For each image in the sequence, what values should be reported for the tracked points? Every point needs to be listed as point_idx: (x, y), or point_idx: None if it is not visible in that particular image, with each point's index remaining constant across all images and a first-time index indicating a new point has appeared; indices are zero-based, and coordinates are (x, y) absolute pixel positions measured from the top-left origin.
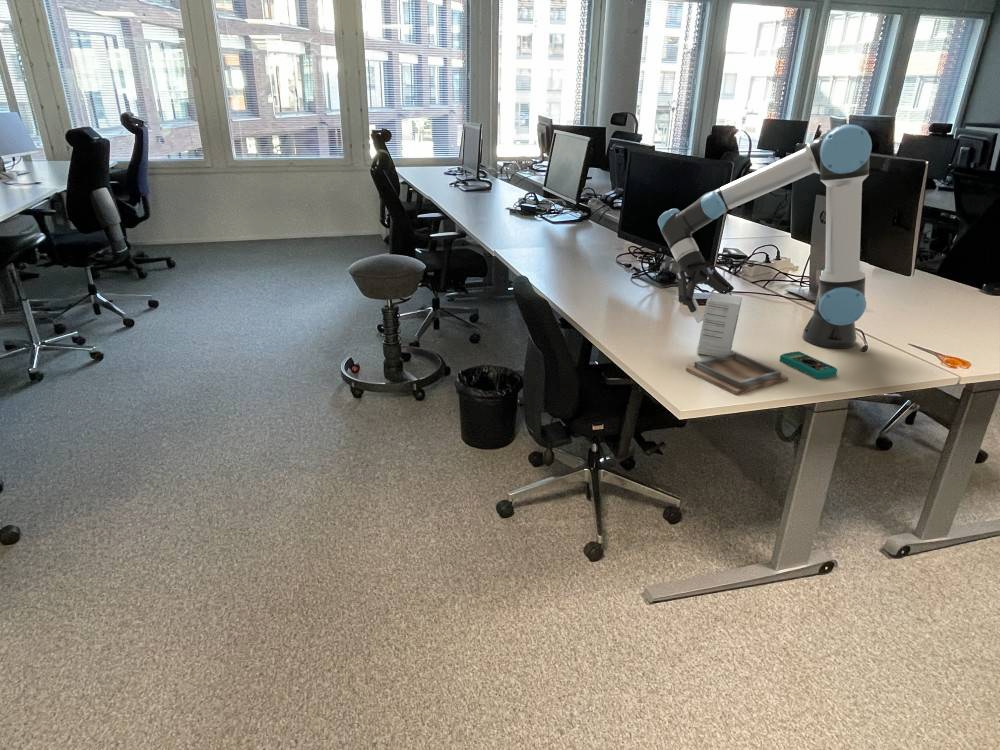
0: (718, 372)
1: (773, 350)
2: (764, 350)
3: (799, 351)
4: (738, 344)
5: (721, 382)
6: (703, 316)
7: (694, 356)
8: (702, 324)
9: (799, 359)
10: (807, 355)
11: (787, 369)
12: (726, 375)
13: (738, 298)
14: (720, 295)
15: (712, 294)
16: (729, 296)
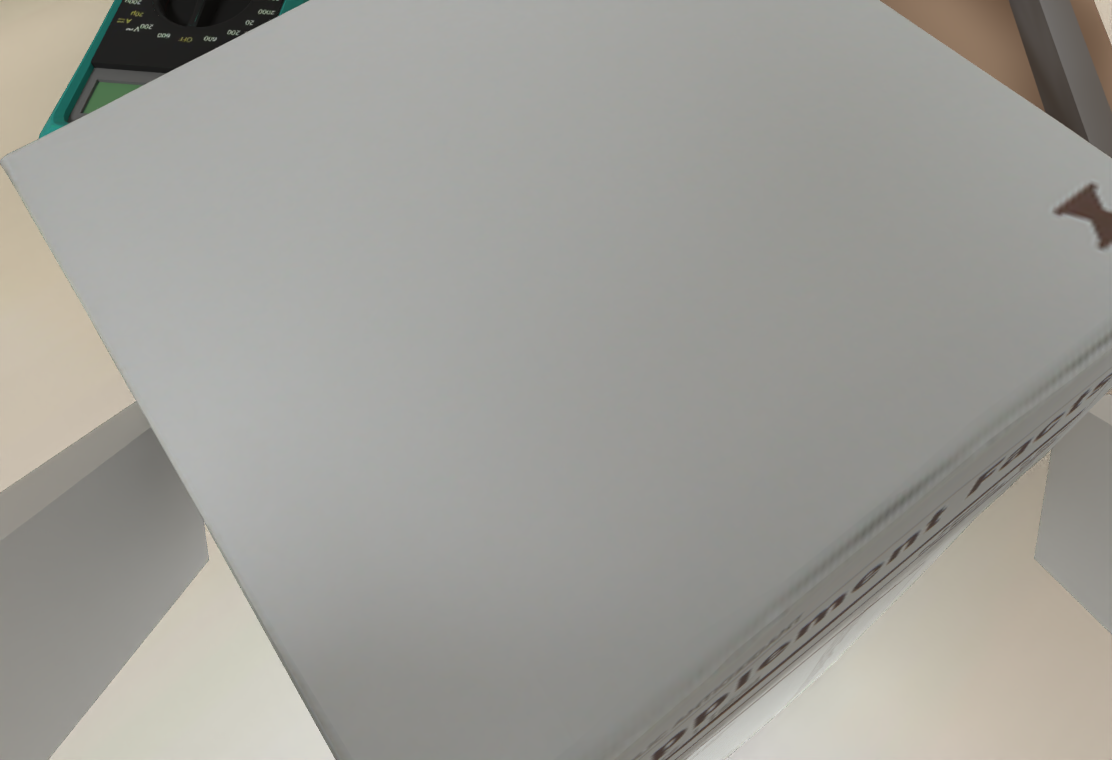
0: (1090, 84)
1: (44, 370)
2: (112, 407)
3: (50, 120)
4: (158, 660)
5: (1092, 57)
6: (1094, 411)
7: (906, 619)
8: (963, 530)
9: (220, 41)
10: (88, 56)
11: None
12: (1059, 29)
13: (234, 79)
14: (480, 401)
15: (640, 616)
16: (306, 241)
